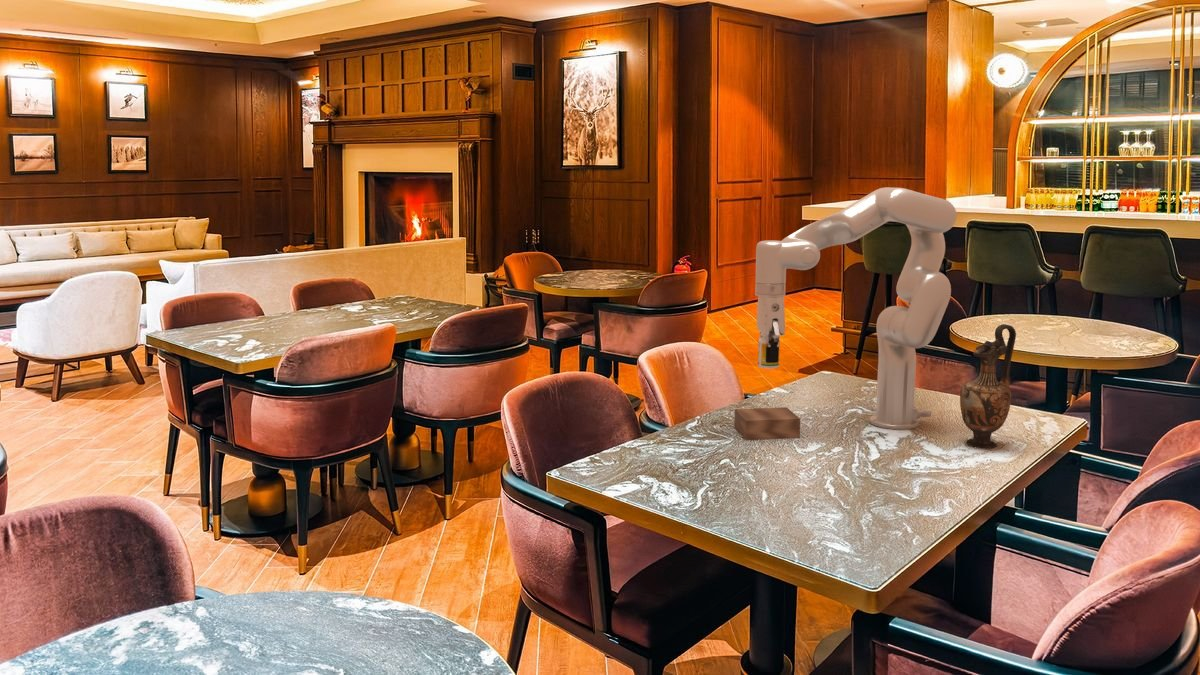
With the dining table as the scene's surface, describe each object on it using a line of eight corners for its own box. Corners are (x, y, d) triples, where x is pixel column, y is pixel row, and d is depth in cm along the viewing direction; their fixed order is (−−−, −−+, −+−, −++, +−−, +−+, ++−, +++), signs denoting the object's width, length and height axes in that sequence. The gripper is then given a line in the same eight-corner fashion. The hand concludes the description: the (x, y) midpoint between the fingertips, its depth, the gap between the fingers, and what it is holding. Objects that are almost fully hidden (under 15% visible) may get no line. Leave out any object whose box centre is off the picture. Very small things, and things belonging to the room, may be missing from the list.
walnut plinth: (786, 425, 253) (786, 407, 252) (799, 437, 242) (800, 418, 241) (734, 427, 252) (734, 409, 251) (745, 439, 240) (746, 420, 239)
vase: (948, 439, 240) (955, 321, 234) (996, 437, 241) (1003, 320, 235) (970, 452, 228) (978, 329, 223) (1020, 450, 229) (1029, 328, 224)
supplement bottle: (753, 366, 245) (754, 329, 243) (770, 364, 247) (771, 327, 246) (766, 369, 240) (766, 332, 239) (783, 367, 243) (784, 330, 241)
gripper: (795, 293, 232) (793, 366, 235) (775, 285, 249) (773, 353, 252) (765, 294, 232) (763, 367, 235) (747, 286, 248) (745, 354, 252)
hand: (768, 359), depth 243 cm, fingers closed on supplement bottle, 5 cm apart
